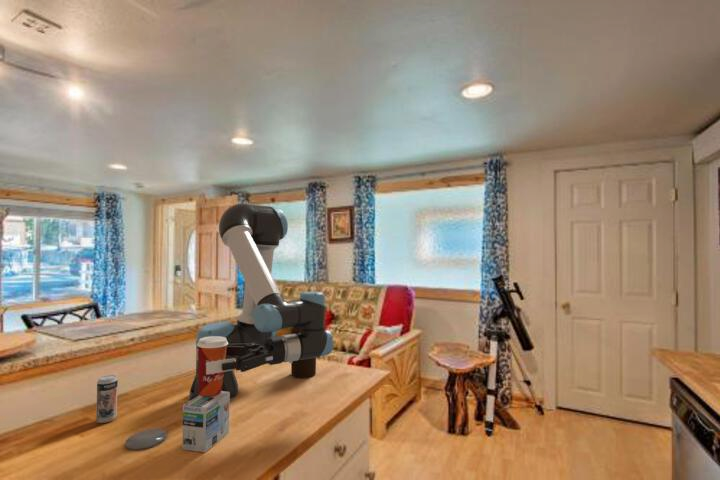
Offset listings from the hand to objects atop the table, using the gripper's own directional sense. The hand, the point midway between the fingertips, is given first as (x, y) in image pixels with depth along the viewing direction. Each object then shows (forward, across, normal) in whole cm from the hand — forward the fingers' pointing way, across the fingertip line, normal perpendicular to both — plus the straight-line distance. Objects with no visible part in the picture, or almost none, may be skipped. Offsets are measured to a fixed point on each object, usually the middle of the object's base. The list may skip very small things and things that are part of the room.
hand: (201, 361), depth 92 cm
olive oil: (-43, +33, -20) cm, 58 cm away
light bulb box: (-2, 0, -20) cm, 20 cm away
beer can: (+20, +27, -20) cm, 39 cm away
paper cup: (-3, +3, -10) cm, 10 cm away
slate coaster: (+11, +8, -20) cm, 24 cm away
